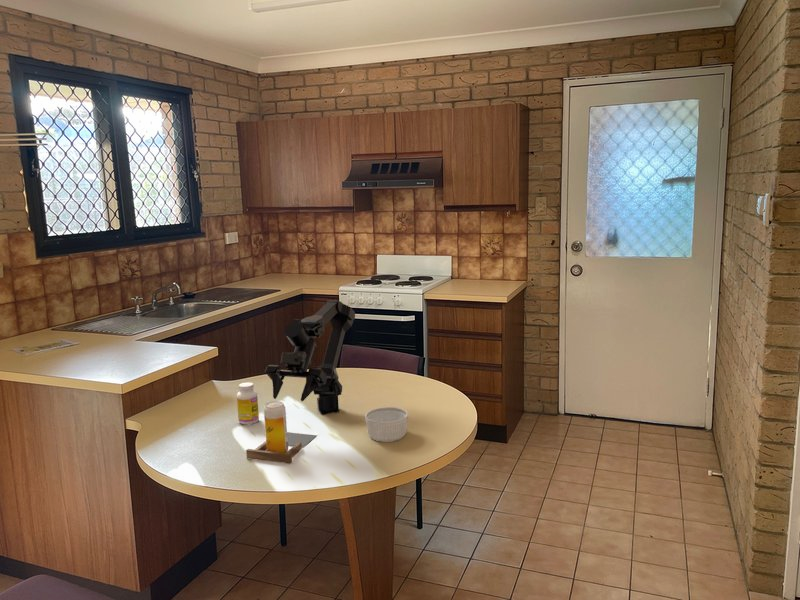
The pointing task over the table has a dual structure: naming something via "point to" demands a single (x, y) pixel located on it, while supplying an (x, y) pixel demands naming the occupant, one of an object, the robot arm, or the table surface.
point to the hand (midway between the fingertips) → (287, 399)
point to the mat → (299, 438)
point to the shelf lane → (273, 454)
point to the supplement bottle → (247, 404)
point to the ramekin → (386, 423)
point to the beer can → (276, 427)
